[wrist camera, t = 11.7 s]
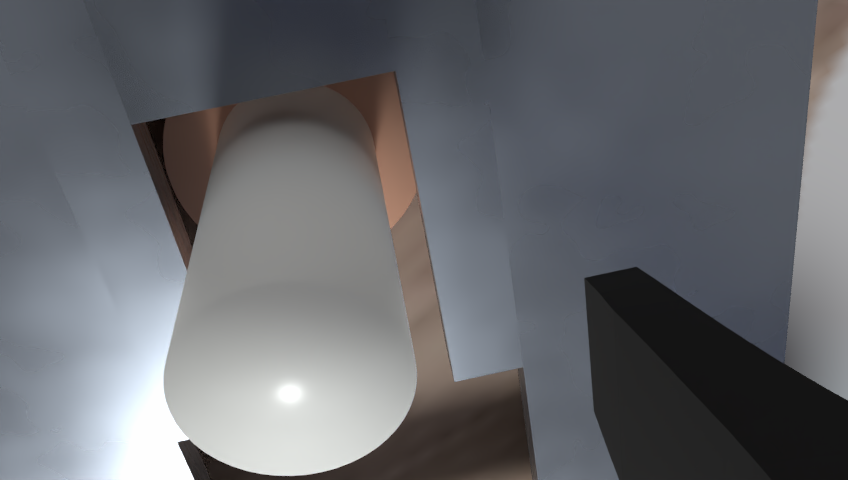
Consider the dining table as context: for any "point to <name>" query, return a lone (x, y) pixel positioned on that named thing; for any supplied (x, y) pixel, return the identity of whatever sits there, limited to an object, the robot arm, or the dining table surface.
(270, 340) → the keyhole peg
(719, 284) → the keyhole plate
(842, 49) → the dining table surface
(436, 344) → the dining table surface
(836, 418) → the robot arm
